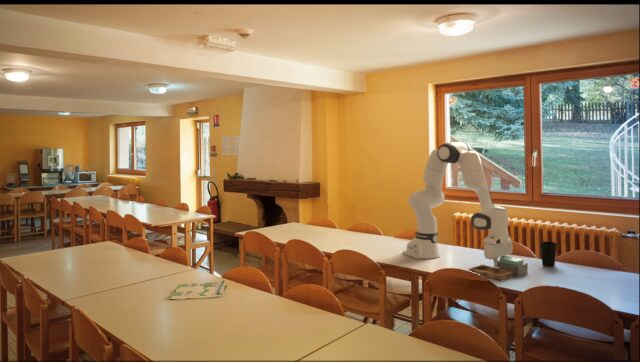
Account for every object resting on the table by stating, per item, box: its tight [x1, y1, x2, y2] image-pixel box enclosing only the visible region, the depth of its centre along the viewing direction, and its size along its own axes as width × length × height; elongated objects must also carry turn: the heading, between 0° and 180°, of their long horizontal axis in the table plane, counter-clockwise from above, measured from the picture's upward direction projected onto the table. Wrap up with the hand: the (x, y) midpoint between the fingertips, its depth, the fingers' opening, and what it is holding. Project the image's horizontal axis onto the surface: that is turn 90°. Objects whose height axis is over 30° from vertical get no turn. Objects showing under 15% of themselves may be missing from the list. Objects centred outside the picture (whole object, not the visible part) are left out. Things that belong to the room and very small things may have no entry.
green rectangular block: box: [493, 255, 524, 268], centre depth 213 cm, size 13×6×7 cm, turn 35°
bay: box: [500, 262, 529, 278], centre depth 211 cm, size 9×9×5 cm
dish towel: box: [170, 279, 226, 297], centre depth 196 cm, size 17×23×4 cm
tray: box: [468, 264, 515, 282], centre depth 209 cm, size 17×11×2 cm, turn 35°
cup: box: [540, 241, 558, 268], centre depth 221 cm, size 8×8×12 cm
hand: (499, 264), depth 217 cm, fingers closed on green rectangular block, 3 cm apart
